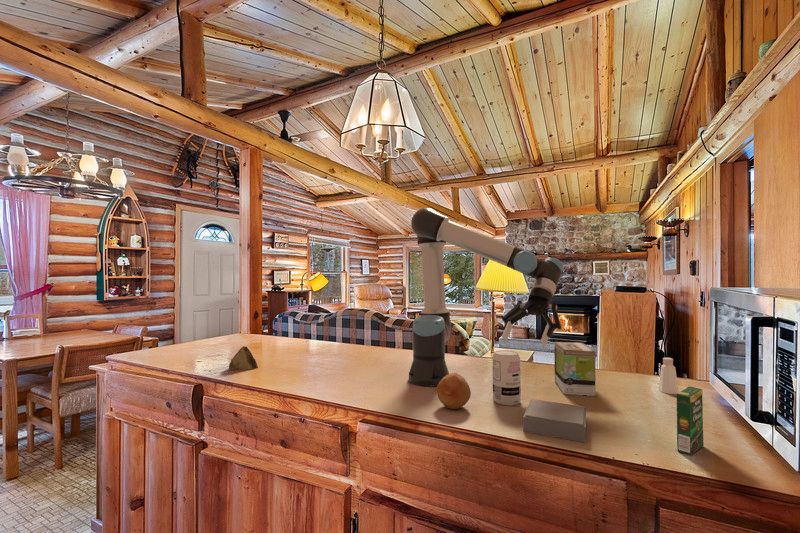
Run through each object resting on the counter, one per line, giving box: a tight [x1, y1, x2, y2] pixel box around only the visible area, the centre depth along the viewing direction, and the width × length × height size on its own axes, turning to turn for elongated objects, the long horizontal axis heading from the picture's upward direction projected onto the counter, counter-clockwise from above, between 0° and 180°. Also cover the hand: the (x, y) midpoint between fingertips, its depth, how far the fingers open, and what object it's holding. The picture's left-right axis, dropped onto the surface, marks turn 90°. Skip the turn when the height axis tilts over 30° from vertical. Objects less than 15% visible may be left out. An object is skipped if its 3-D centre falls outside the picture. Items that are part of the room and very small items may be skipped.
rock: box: [228, 345, 259, 371], centre depth 157 cm, size 11×9×10 cm
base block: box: [522, 398, 587, 444], centre depth 96 cm, size 14×14×4 cm
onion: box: [435, 372, 472, 410], centre depth 110 cm, size 10×10×10 cm
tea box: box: [554, 341, 597, 397], centre depth 127 cm, size 15×10×15 cm, turn 168°
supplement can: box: [492, 349, 522, 407], centre depth 115 cm, size 8×8×15 cm
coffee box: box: [675, 386, 705, 457], centre depth 84 cm, size 8×3×13 cm, turn 125°
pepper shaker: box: [658, 357, 680, 395], centre depth 123 cm, size 5×5×11 cm
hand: (522, 341), depth 122 cm, fingers open, 13 cm apart
